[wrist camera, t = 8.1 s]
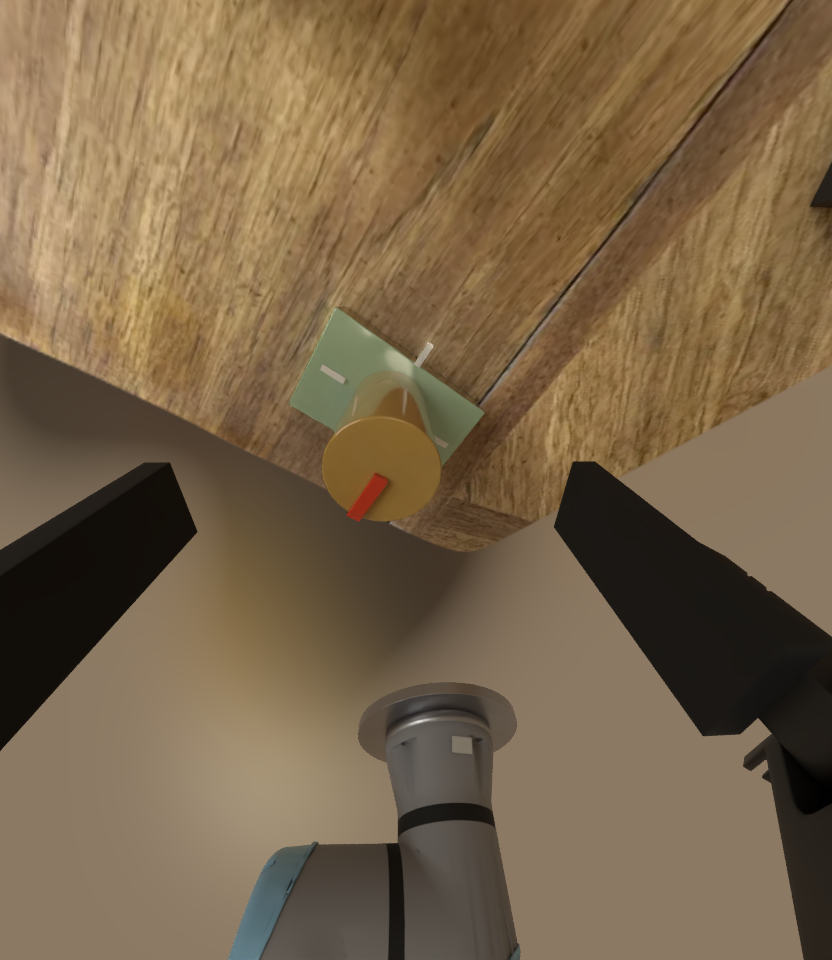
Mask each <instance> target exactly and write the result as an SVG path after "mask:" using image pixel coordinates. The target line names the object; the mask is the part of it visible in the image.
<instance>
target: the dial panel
mask: <svg viewBox="0 0 832 960" xmlns="http://www.w3.org/2000/svg"><path fill="white" fill-rule="evenodd" d="M433 347H434V345H433V344H431V343H430V342H428V343H427V344H426V346H425V347H424V349H423V351H422V352H421V354H420V355H419V357H418V358H416V357H415V356H414V355H412V354H411V353H409V352H408V351H407V350H405V349H404V348H403V347H401V346H400V345H398V344H397V343H396V342H394V341H393V340H391V339H390V338H389V337H387V336H386V335H384V334H383V333H382V332H380V331H379V330H377V329H376V328H375V327H373V326H372V325H371V324H369V323H368V322H366V321H365V320H364V319H362V318H361V317H359V316H358V315H357V314H355V313H354V312H352V311H351V310H350V309H348V308H347V307H345V306H344V307H336V308H335V309H334V311H333V313H332V315H331V317H330V319H329V321H328V323H327V326H326V328H325V330H324V332H323V334H322V336H321V338H320V340H319V342H318V344H317V346H316V348H315V350H314V352H313V354H312V356H311V358H310V360H309V362H308V364H307V367H306V369H305V371H304V373H303V375H302V377H301V379H300V381H299V383H298V385H297V387H296V389H295V391H294V393H293V395H292V397H291V399H290V401H289V405H290V406H292V407H294V408H296V409H297V410H299V411H301V412H303V413H304V414H306V415H308V416H310V417H311V418H313V419H315V420H317V421H318V422H320V423H322V424H324V425H325V426H327V427H329V428H331V429H332V430H335V428H336V426H337V424H338V422H339V420H340V418H341V416H342V414H343V412H344V410H345V408H346V406H347V405H348V403H349V401H350V399H351V397H352V395H353V393H354V391H355V389H356V387H357V386H358V384H359V383H360V382H361V381H362V380H363V379H364V378H366V377H367V376H369V375H371V374H373V373H375V372H379V371H396V372H399V373H402V374H404V375H406V376H408V377H410V378H411V379H412V380H413V381H414V382H415V383H416V384H417V385H418V386H419V388H420V389H421V391H422V393H423V395H424V398H425V402H426V405H427V409H428V413H429V417H430V420H431V424H432V428H433V432H434V436H435V439H436V443H437V447H438V451H439V455H440V459H441V464H442V466H443V465H444V464H445V463H446V461H447V460H448V459H449V458H450V456H451V455H452V454H453V453H454V451H455V450H456V449H457V448H458V446H459V445H460V444H461V443H462V441H463V440H464V439H465V437H466V436H467V435H468V434H469V432H470V431H471V430H472V429H473V427H474V426H475V425H476V424H477V422H478V421H479V420H480V419H481V417H482V416H483V415H484V414H485V412H484V411H483V410H482V408H481V407H480V406H479V404H478V403H477V402H476V400H475V399H474V398H472V397H471V396H469V395H468V394H467V393H465V392H464V391H462V390H461V389H460V388H458V387H457V386H455V385H454V384H453V383H451V382H450V381H448V380H447V379H446V378H444V377H443V376H442V375H440V374H439V373H437V372H436V371H435V370H433V369H432V368H430V367H429V366H428V365H426V364H425V363H423V362H424V360H425V359H426V357H427V356H428V354H429V353H430V351H431V350H432V348H433Z"/></svg>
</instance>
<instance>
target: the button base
mask: <svg viewBox="0 0 832 960" xmlns="http://www.w3.org/2000/svg"><path fill="white" fill-rule="evenodd" d="M811 206H819V207H832V164H831V166H830V168H829V170H828V172H827V174H826V176H825V178H824V180H823V182H822V184H821V186H820V188H819V190H818V192H817V194H816V196H815V198H814V200H813V202H812V205H811Z"/></svg>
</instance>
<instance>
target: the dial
mask: <svg viewBox="0 0 832 960" xmlns="http://www.w3.org/2000/svg"><path fill="white" fill-rule="evenodd" d="M322 475H323V479H324V483H325V485H326V487H327V490H328V491H329V493H330V494H331V496H332V497H333V499H334V500H335V501H336V502H337V503H338V504H339V505H340V506H341V507H342V508H344V509H345V510H347V511H348V512H347V516H348V517H350V518H352V519H354V520H356V521H360V520H361V519H362V518H364V519H367V520H372V521H395V520H399V519H403V518H406V517H409V516H411V515H413V514H415V513H416V512H418V511H420V510H421V509H422V508H423V507H425V506H426V505H427V504H428V503H429V502H430V500H431V499H432V498H433V496H434V495H435V493H436V491H437V489H438V487H439V484H440V481H441V476H442V464H441V459H440V455H439V451H438V447H437V443H436V439H435V436H434V432H433V428H432V424H431V420H430V417H429V413H428V409H427V405H426V402H425V398H424V395H423V393H422V391H421V389H420V388H419V386H418V385H417V384H416V383H415V382H414V381H413V380H412V379H411V378H410V377H408V376H406V375H404V374H402V373H399V372H396V371H379V372H375V373H373V374H371V375H369V376H367V377H366V378H364V379H363V380H362V381H361V382H360V383H359V384H358V386H357V387H356V389H355V391H354V393H353V395H352V397H351V399H350V401H349V403H348V405H347V406H346V408H345V410H344V412H343V414H342V416H341V418H340V420H339V422H338V424H337V426H336V428H335V430H334V432H333V434H332V436H331V438H330V440H329V442H328V444H327V446H326V448H325V451H324V454H323V458H322Z"/></svg>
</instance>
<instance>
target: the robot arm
mask: <svg viewBox="0 0 832 960" xmlns="http://www.w3.org/2000/svg"><path fill="white" fill-rule="evenodd" d="M554 528H555V529H556V531H557V532H558V533H559V535H560V536H561V538H562V539H563V540H564V542H565V543H566V545H567V546H568V547H569V549H570V550H571V552H572V553H573V554H574V556H575V557H576V559H577V560H578V561H579V563H580V564H581V566H582V567H583V569H584V570H585V571H586V573H587V574H588V576H589V577H590V578H591V580H592V581H593V582H594V584H595V585H596V587H597V588H598V590H599V591H600V592H601V593H602V595H603V597H604V598H605V599H606V601H607V602H608V604H609V605H610V606H611V608H612V609H613V611H614V612H615V613H616V615H617V616H618V618H619V619H620V620H621V622H622V623H623V625H624V626H625V627H626V629H627V630H628V632H629V633H630V634H631V636H632V637H633V639H634V640H635V641H636V643H637V644H638V646H639V647H640V648H641V650H642V651H643V653H644V654H645V655H646V657H647V658H648V660H649V661H650V662H651V664H652V665H653V667H654V668H655V670H656V671H657V672H658V674H659V675H660V676H661V678H662V679H663V681H664V682H665V684H666V685H667V686H668V688H669V689H670V691H671V692H672V693H673V695H674V696H675V698H676V699H677V700H678V702H679V703H680V705H681V706H682V707H683V709H684V710H685V712H686V713H687V714H688V716H689V717H690V719H691V720H692V721H693V723H694V724H695V726H696V727H697V728H698V730H699V731H700V733H701V734H702V735H703V736H716V735H735V734H741V733H742V732H743V731H744V730H745V729H746V728H747V727H749V726H750V725H751V724H752V723H753V722H754V721H755V720H756V719H757V718H759V719H760V720H761V721H762V723H763V724H764V725H765V726H766V727H767V728H768V729H769V730H770V732H771V733H772V734H771V735H770V736H769V737H767V738H766V739H765V740H764V741H763V742H762V743H760V744H759V745H758V746H757V747H755V748H754V749H753V750H752V751H751V752H750V753H748V754H747V755H746V756H745V758H744V764H743V767H745V768H746V769H748V770H750V771H751V770H753V769H754V768H755V767H757V766H758V765H759V764H760V763H762V762H763V761H764V760H767V763H768V768H769V770H767V771H766V772H765V773H764V774H763V776H762V778H763V779H765V780H767V781H769V782H770V783H771V784H772V790H773V795H774V801H775V806H776V812H777V817H778V823H779V828H780V833H781V839H782V844H783V850H784V855H785V860H786V866H787V871H788V877H789V882H790V887H791V892H792V898H793V904H794V909H795V915H796V920H797V925H798V931H799V936H800V941H801V946H802V952H803V958H804V960H832V637H831V636H830V635H829V634H827V633H826V632H825V631H823V630H822V629H821V628H819V627H818V626H817V625H815V624H814V623H813V622H811V621H810V620H809V619H807V618H806V617H805V616H803V615H802V614H801V613H800V612H798V611H797V610H796V609H794V608H793V607H792V606H790V605H789V604H788V603H786V602H785V601H784V600H782V599H781V598H780V597H778V596H777V595H776V594H774V593H773V592H772V591H767V590H766V587H765V586H764V585H763V584H761V583H760V582H759V581H757V580H756V579H755V578H753V577H752V576H748V575H747V572H745V571H744V570H743V569H741V568H740V567H739V566H737V565H736V564H735V563H733V562H732V561H731V560H729V559H728V558H727V557H726V556H724V555H722V554H720V553H718V552H716V551H714V550H713V549H710V548H709V547H707V546H705V545H703V544H701V543H699V542H698V541H696V540H695V539H694V538H692V537H691V536H690V535H689V534H687V533H686V532H685V531H683V530H682V529H681V528H680V527H678V526H677V525H676V524H674V523H673V522H672V521H671V520H669V519H668V518H667V517H666V516H664V515H663V514H662V513H660V512H659V511H658V510H656V509H655V508H654V507H652V506H651V505H650V504H649V503H648V502H646V501H645V500H644V499H642V498H641V497H640V496H638V495H637V494H636V493H635V492H633V491H632V490H631V489H630V488H628V487H627V486H626V485H624V484H623V483H622V482H621V481H619V480H618V479H617V478H615V477H614V476H613V475H612V474H610V473H609V472H608V471H606V470H605V469H604V468H603V467H601V466H600V465H599V464H597V463H596V462H573V463H572V467H571V470H570V473H569V477H568V480H567V484H566V487H565V490H564V494H563V497H562V501H561V504H560V508H559V511H558V515H557V518H556V521H555V525H554ZM196 533H197V529H196V527H195V525H194V522H193V519H192V517H191V514H190V512H189V509H188V507H187V504H186V502H185V499H184V497H183V494H182V492H181V489H180V487H179V484H178V482H177V480H176V477H175V474H174V472H173V469H172V467H171V464H170V463H143V464H141V465H140V466H138V467H136V468H135V469H133V470H131V471H130V472H128V473H127V474H125V475H123V476H122V477H120V478H118V479H117V480H115V481H113V482H112V483H110V484H108V485H107V486H105V487H103V488H102V489H100V490H98V491H97V492H95V493H94V494H92V495H90V496H89V497H87V498H85V499H84V500H82V501H80V502H79V503H77V504H76V505H74V506H72V507H70V508H69V509H67V510H65V511H64V512H62V513H61V514H59V515H57V516H56V517H54V518H52V519H51V520H49V521H48V522H46V523H44V524H42V525H41V526H39V527H37V528H36V529H34V530H33V531H31V532H29V533H28V534H26V535H24V536H23V537H21V538H19V539H18V540H16V541H14V542H13V543H11V544H9V545H8V546H6V547H4V548H3V549H1V550H0V751H1V750H2V748H3V747H4V746H5V745H6V744H7V743H8V742H9V741H10V740H11V738H12V737H13V736H14V735H15V734H16V733H17V732H18V731H19V730H20V728H21V727H22V726H23V725H24V724H25V723H26V722H27V721H28V720H29V718H30V717H31V716H32V715H33V714H34V713H35V712H36V711H37V709H38V708H39V707H40V706H41V705H42V704H43V703H44V702H45V701H46V699H47V698H48V697H49V696H50V695H51V694H52V693H53V692H54V691H55V690H56V688H57V687H58V686H59V685H60V684H61V683H62V682H63V681H64V680H65V678H66V677H67V676H68V675H69V674H70V673H71V672H72V671H73V670H74V669H75V667H76V666H77V665H78V664H79V663H80V662H81V661H82V660H83V658H84V657H85V656H86V655H87V654H88V653H89V652H90V651H91V650H92V648H93V647H94V646H95V645H96V644H97V643H98V642H99V641H100V640H101V639H102V637H103V636H104V635H105V634H106V633H107V632H108V631H109V630H110V629H111V627H112V626H113V625H114V624H115V623H116V622H117V621H118V620H119V619H120V617H121V616H122V615H123V614H124V613H125V612H126V611H127V609H128V608H129V607H130V606H131V605H132V604H133V603H134V602H135V601H136V599H138V597H139V596H140V595H141V594H142V593H143V592H144V591H145V590H146V588H147V587H148V586H149V585H150V584H151V583H152V582H153V581H154V579H156V577H157V576H158V575H159V574H160V573H161V572H162V571H163V569H165V567H166V566H167V565H168V564H169V563H170V562H171V561H172V560H173V559H174V557H175V556H176V555H177V554H178V553H179V552H180V551H181V550H182V549H183V547H184V546H185V545H186V544H187V543H188V542H189V541H190V540H191V539H192V537H193V536H194V535H195V534H196ZM385 754H386V761H387V765H388V770H389V774H390V779H391V783H392V788H393V792H394V797H395V801H396V805H397V810H398V843H388V844H386V843H384V844H330V845H319V843H318V842H313V843H312V844H311V845H305V846H295V847H285V848H282V849H280V850H278V851H277V852H275V853H274V854H273V855H272V857H271V858H270V859H269V860H268V862H267V863H266V865H265V866H264V868H263V870H262V872H261V874H260V876H259V878H258V880H257V883H256V885H255V887H254V889H253V892H252V894H251V897H250V899H249V902H248V904H247V907H246V910H245V912H244V915H243V918H242V920H241V923H240V926H239V929H238V932H237V934H236V938H235V940H234V943H233V946H232V949H231V952H230V955H229V958H228V960H520V947H519V944H518V943H517V938H516V933H515V928H514V922H513V917H512V912H511V906H510V901H509V896H508V891H507V885H506V880H505V875H504V870H503V864H502V859H501V853H500V848H499V843H498V838H497V833H496V828H495V822H494V817H493V811H492V804H491V792H492V769H493V739H492V734H491V729H490V726H489V724H488V722H487V721H486V720H485V719H484V718H482V717H481V716H479V715H477V714H474V713H471V712H468V711H463V710H456V709H436V710H428V711H423V712H418V713H415V714H412V715H409V716H406V717H404V718H402V719H400V720H399V721H397V722H396V723H394V724H393V725H392V726H391V727H390V728H389V729H388V731H387V733H386V736H385Z"/></svg>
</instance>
